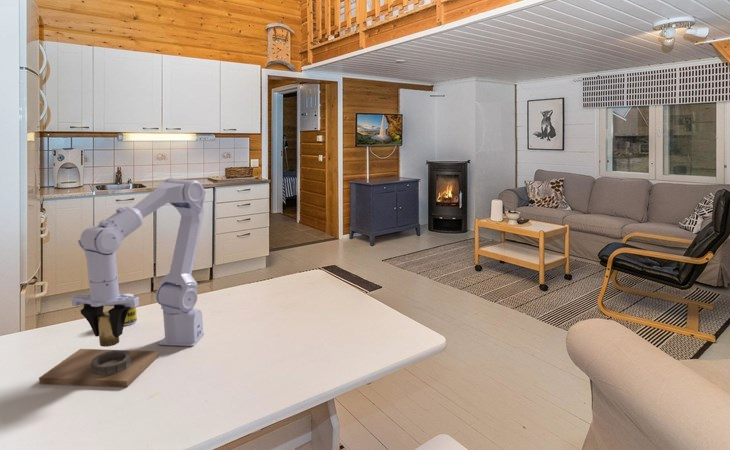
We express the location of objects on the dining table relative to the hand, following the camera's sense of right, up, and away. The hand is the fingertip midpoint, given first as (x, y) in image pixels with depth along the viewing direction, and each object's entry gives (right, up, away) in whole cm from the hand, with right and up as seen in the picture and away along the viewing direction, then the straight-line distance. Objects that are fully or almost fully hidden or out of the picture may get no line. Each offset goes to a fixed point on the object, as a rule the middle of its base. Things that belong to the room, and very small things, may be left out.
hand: (108, 335), depth 104 cm
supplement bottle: (-11, -4, +30) cm, 32 cm away
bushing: (0, -2, 0) cm, 2 cm away
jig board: (-3, -9, +3) cm, 10 cm away
